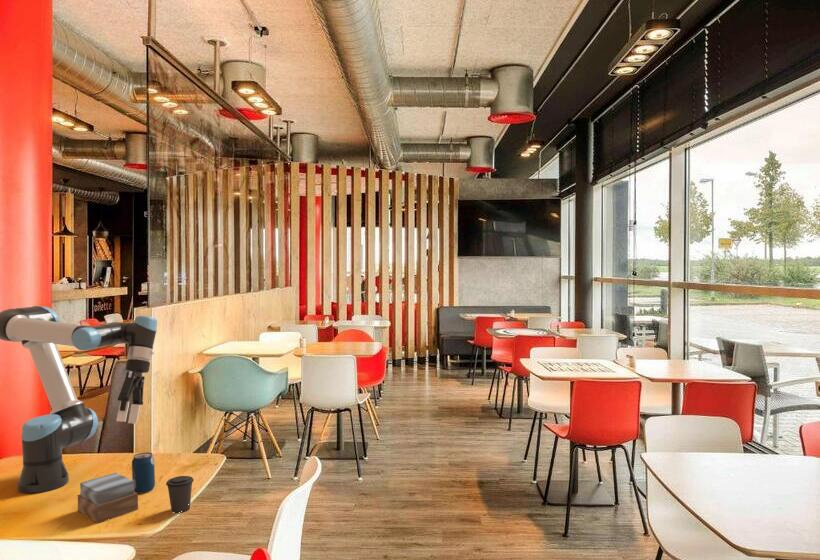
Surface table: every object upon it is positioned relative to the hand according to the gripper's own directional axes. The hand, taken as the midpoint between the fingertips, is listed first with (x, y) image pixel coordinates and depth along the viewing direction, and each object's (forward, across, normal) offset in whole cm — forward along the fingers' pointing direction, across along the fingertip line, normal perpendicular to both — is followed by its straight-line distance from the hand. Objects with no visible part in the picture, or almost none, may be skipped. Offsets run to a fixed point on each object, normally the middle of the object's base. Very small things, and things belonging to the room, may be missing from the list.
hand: (126, 422), depth 200 cm
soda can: (+22, +6, -8) cm, 24 cm away
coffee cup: (+26, -13, -24) cm, 38 cm away
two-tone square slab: (+27, -9, -2) cm, 28 cm away
